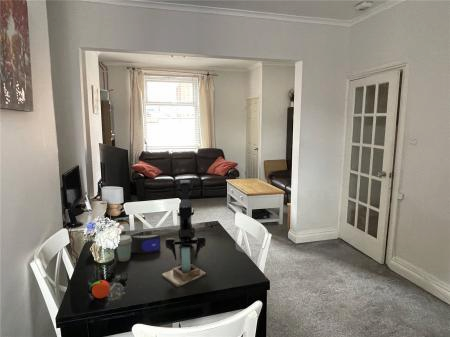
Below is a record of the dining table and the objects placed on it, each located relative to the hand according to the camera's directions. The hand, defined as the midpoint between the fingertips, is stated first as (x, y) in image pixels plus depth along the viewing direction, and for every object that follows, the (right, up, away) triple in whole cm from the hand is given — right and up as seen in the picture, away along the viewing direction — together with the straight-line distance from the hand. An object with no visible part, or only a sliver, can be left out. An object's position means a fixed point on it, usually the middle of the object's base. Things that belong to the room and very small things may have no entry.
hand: (185, 260), depth 136 cm
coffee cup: (-36, -6, +21) cm, 42 cm away
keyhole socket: (-2, -9, +4) cm, 10 cm away
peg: (0, -8, +3) cm, 8 cm away
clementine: (-34, -11, -13) cm, 38 cm away
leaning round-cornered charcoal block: (-27, -5, +30) cm, 41 cm away
